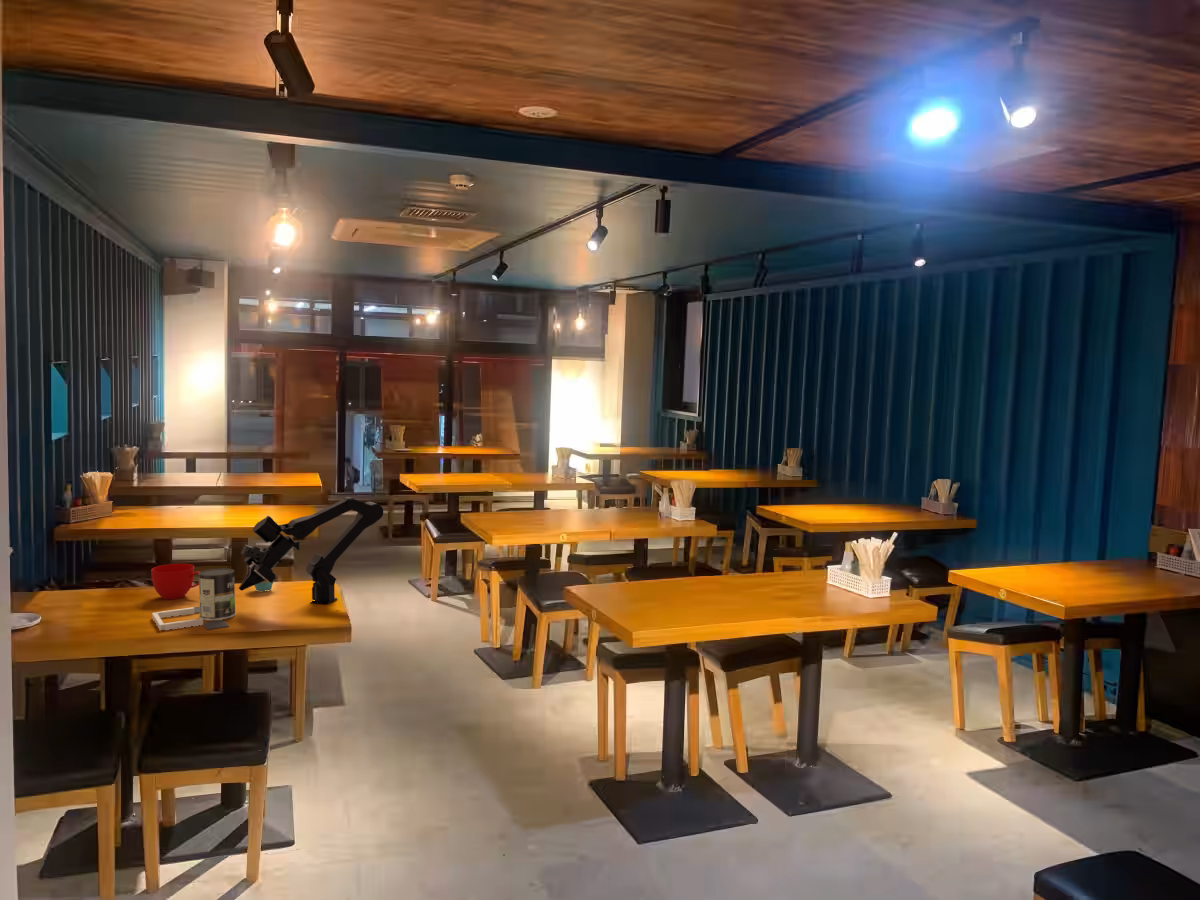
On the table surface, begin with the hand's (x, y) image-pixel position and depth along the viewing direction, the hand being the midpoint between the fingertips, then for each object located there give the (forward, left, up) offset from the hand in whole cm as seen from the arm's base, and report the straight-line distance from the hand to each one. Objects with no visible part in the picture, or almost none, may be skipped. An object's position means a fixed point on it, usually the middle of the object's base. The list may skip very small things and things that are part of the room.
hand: (240, 589), depth 273 cm
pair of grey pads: (+6, +7, -8) cm, 12 cm away
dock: (+11, +14, -7) cm, 20 cm away
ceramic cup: (+32, -9, -8) cm, 34 cm away
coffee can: (+4, +5, -8) cm, 10 cm away
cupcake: (+12, -26, -8) cm, 29 cm away
